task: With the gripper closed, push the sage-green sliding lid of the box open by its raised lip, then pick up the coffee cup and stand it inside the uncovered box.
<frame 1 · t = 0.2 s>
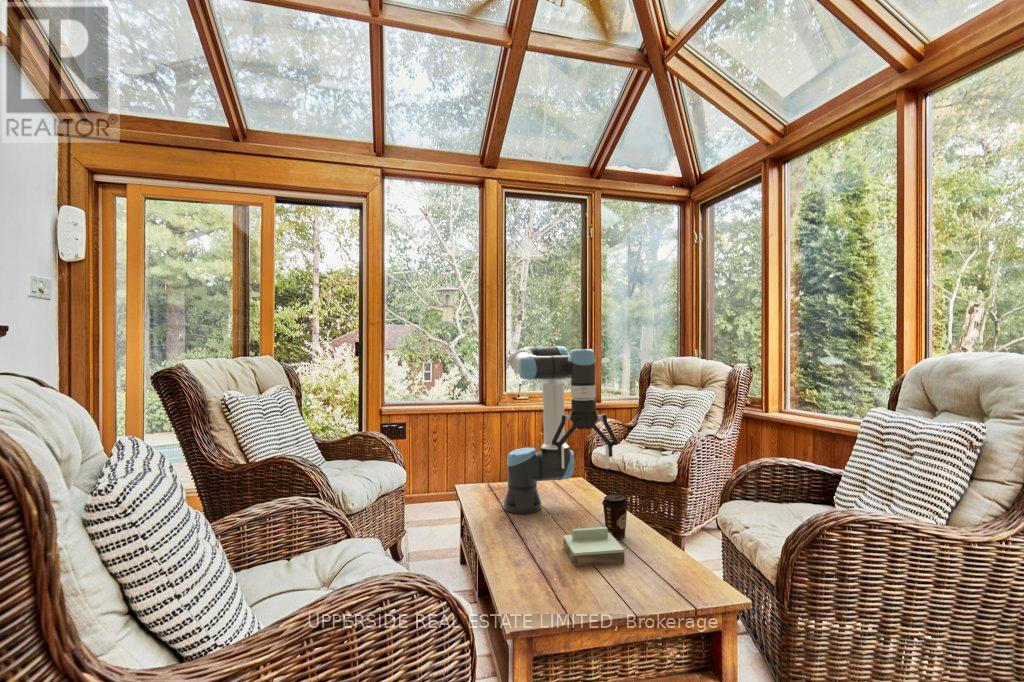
hand: (585, 467, 155), 27 cm above the table, fingers open, 13 cm apart
lid: (592, 538, 154), point 5 cm above the table, slide at 0.0 cm
coffee cup: (616, 536, 169), on the table
box: (593, 555, 154), on the table
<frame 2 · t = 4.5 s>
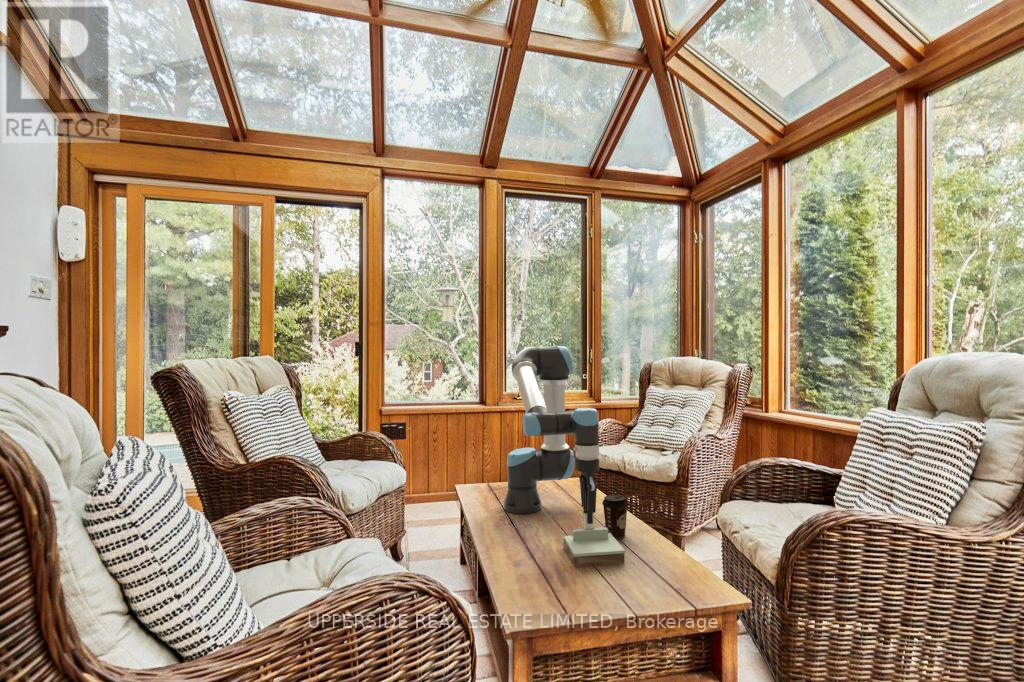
hand: (589, 532, 157), 6 cm above the table, fingers closed
lid: (593, 539, 153), point 5 cm above the table, slide at 0.7 cm, touching gripper
everything else where it was.
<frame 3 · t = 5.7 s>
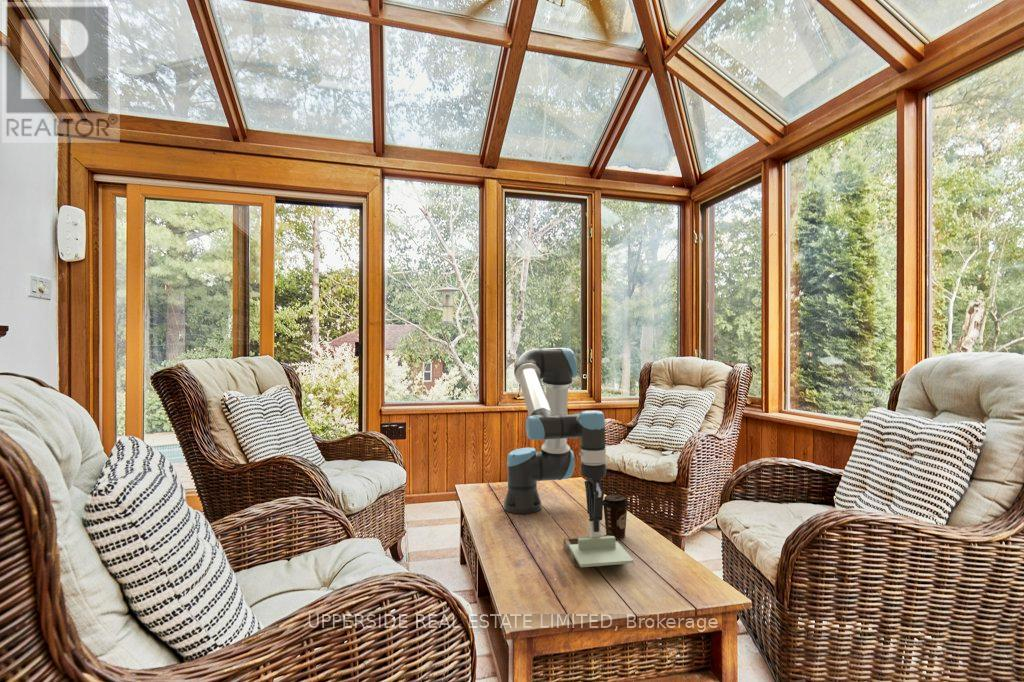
hand: (595, 541, 150), 6 cm above the table, fingers closed
lid: (599, 548, 146), point 5 cm above the table, slide at 7.7 cm, touching gripper
everything else where it was.
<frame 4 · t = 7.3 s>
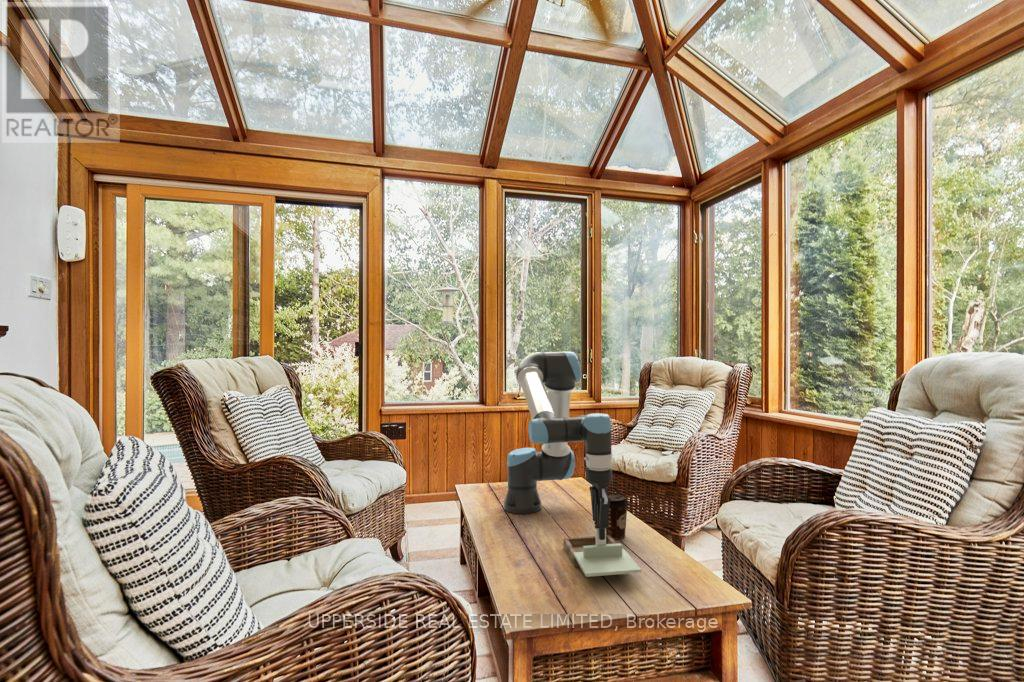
hand: (601, 549, 145), 5 cm above the table, fingers closed
lid: (605, 556, 140), point 5 cm above the table, slide at 13.5 cm, touching gripper
everything else where it was.
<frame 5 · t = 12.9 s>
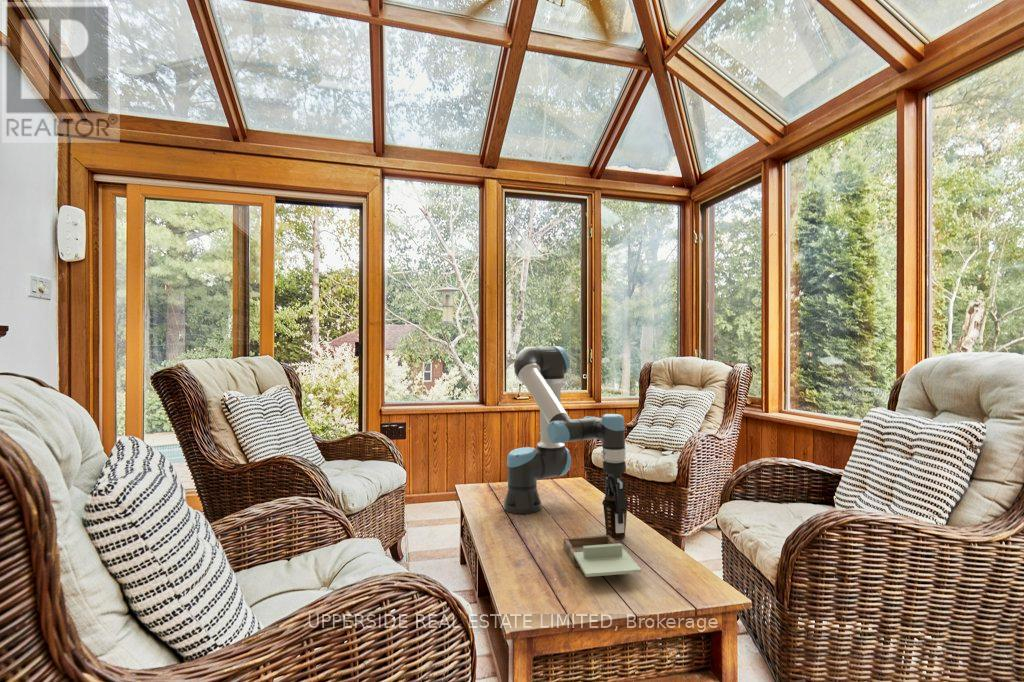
hand: (615, 527, 169), 3 cm above the table, fingers closed on coffee cup, 8 cm apart
lid: (605, 556, 140), point 5 cm above the table, slide at 13.5 cm
coffee cup: (616, 536, 169), on the table, touching gripper
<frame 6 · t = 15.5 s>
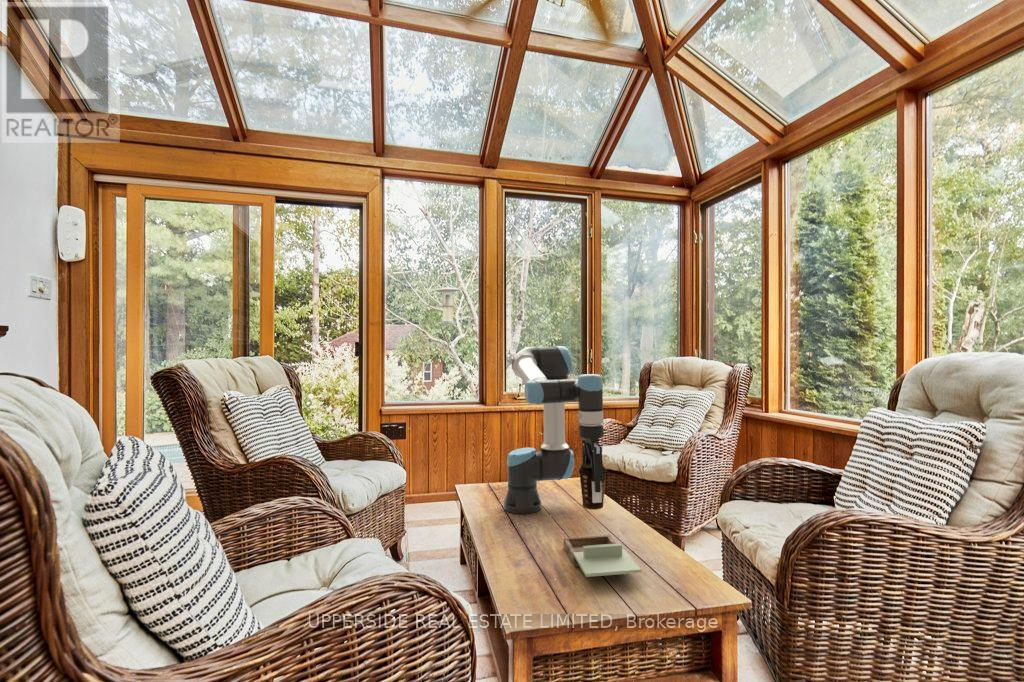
hand: (593, 498, 154), 17 cm above the table, fingers closed on coffee cup, 8 cm apart
coffee cup: (593, 507, 154), point 14 cm above the table, touching gripper
everything else where it was.
when the fingers open (5 cm above the table, at t = 18.3 s): coffee cup drops 1 cm, resting on box.
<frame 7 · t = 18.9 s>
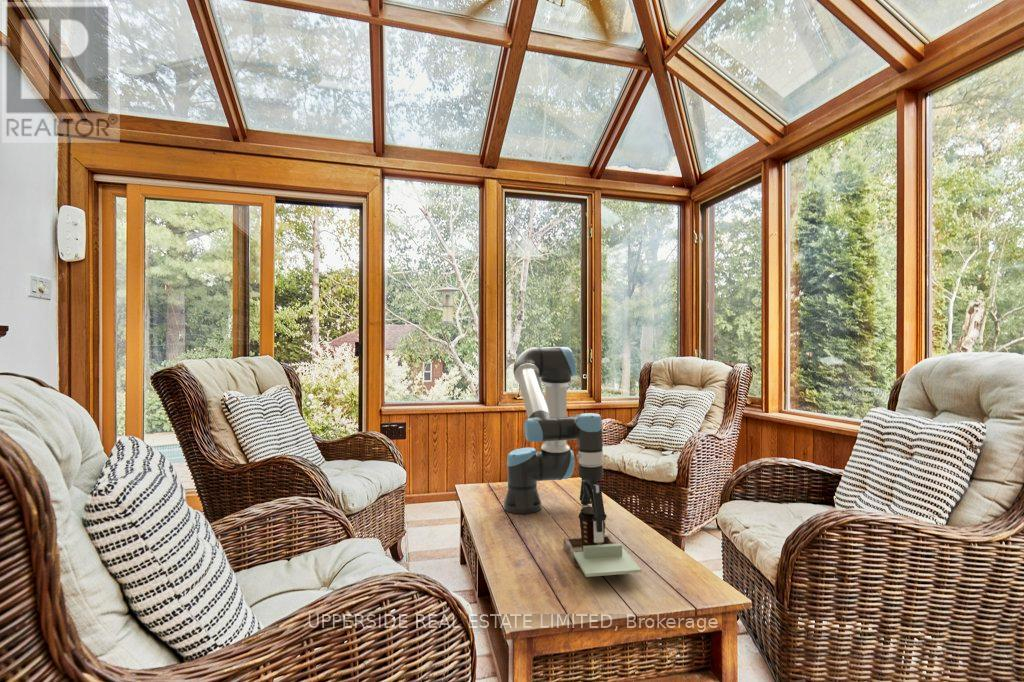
hand: (592, 533, 154), 7 cm above the table, fingers open, 13 cm apart
coffee cup: (593, 552, 153), point 1 cm above the table, touching box
everything else where it was.
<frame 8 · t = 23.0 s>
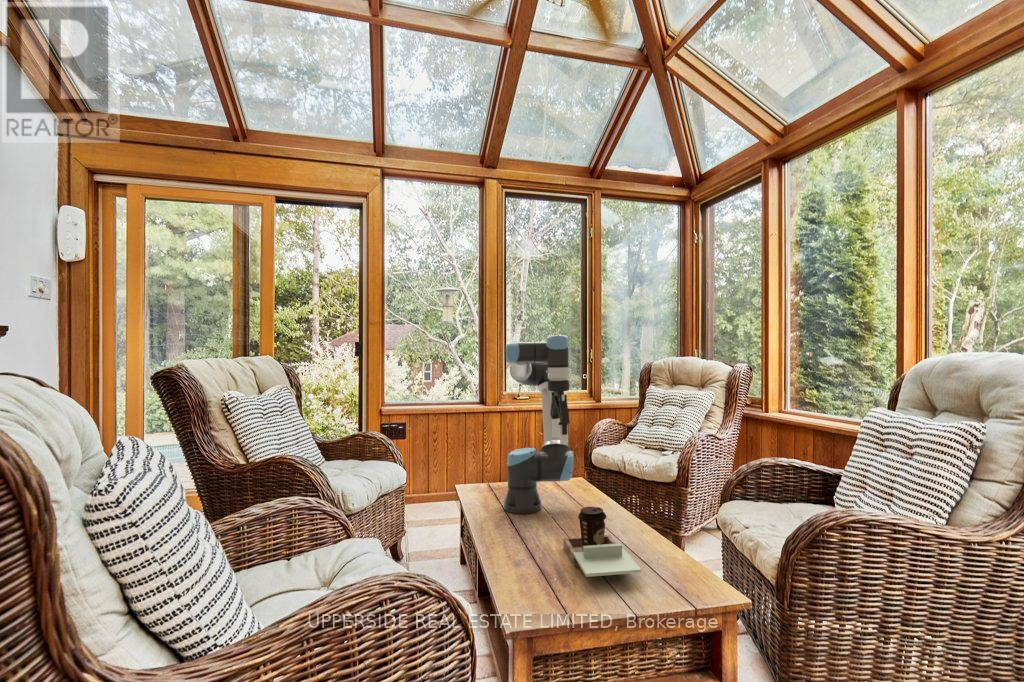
hand: (560, 440, 174), 32 cm above the table, fingers open, 13 cm apart
nothing on the table moved.
at the end: lid slide at 13.5 cm; coffee cup inside the target area on the box (0.1 cm from its centre), point 0.8 cm above the box's base; coffee cup tilted 0°; coffee cup touching box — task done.
